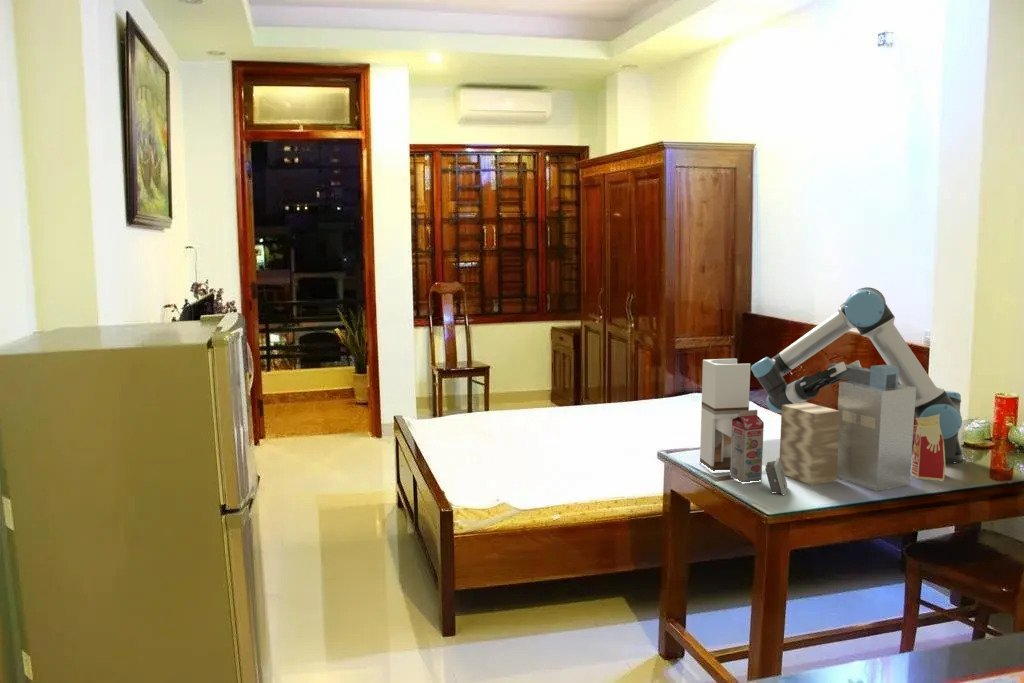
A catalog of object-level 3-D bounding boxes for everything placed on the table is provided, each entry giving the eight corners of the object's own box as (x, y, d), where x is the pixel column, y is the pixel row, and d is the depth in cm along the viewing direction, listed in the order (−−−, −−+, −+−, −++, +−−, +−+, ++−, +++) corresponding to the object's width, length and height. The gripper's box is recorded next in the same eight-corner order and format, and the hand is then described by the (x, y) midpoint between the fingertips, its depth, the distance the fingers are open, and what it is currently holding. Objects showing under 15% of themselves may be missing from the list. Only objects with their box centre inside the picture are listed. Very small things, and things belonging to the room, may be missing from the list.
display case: (712, 473, 255) (715, 365, 250) (699, 463, 266) (702, 359, 261) (746, 471, 257) (750, 363, 252) (732, 462, 267) (736, 358, 262)
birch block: (778, 472, 256) (781, 405, 253) (802, 468, 260) (805, 402, 257) (811, 485, 243) (815, 414, 240) (836, 480, 247) (840, 410, 244)
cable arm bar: (825, 376, 257) (826, 358, 256) (839, 375, 260) (840, 356, 259) (883, 388, 238) (884, 368, 237) (897, 386, 240) (898, 367, 239)
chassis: (833, 476, 252) (838, 382, 248) (866, 470, 257) (872, 378, 253) (875, 491, 237) (881, 391, 233) (909, 484, 243) (916, 387, 239)
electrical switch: (785, 496, 233) (783, 465, 232) (766, 496, 235) (764, 465, 234) (787, 487, 242) (785, 457, 241) (769, 486, 244) (767, 456, 243)
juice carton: (730, 478, 250) (732, 409, 247) (748, 475, 253) (750, 407, 250) (743, 484, 244) (745, 413, 241) (761, 481, 246) (764, 411, 243)
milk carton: (939, 472, 255) (943, 411, 252) (945, 481, 246) (950, 417, 243) (907, 470, 258) (911, 409, 255) (912, 478, 249) (917, 415, 246)
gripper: (827, 397, 274) (877, 373, 254) (785, 402, 266) (833, 378, 246) (819, 377, 276) (869, 351, 257) (777, 381, 269) (825, 355, 249)
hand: (851, 365), depth 252 cm, fingers open, 6 cm apart
